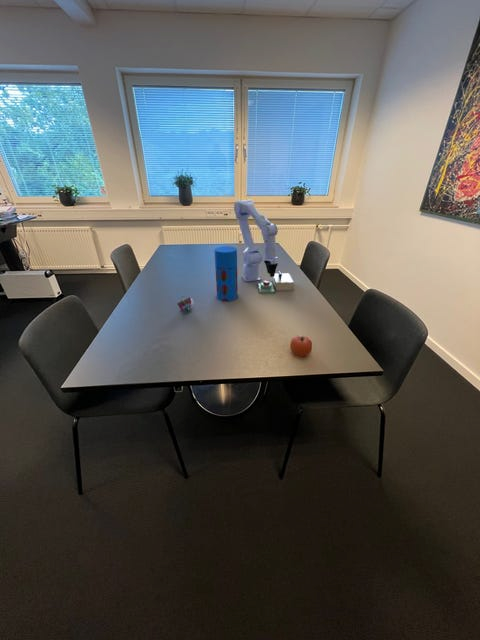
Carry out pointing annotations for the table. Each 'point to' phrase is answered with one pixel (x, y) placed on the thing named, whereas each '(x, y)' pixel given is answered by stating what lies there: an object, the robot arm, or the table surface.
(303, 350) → the red apple
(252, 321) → the table surface
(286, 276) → the lid
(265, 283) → the button
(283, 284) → the beige open box
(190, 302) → the geometric puzzle
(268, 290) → the control pad
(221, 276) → the thermos
